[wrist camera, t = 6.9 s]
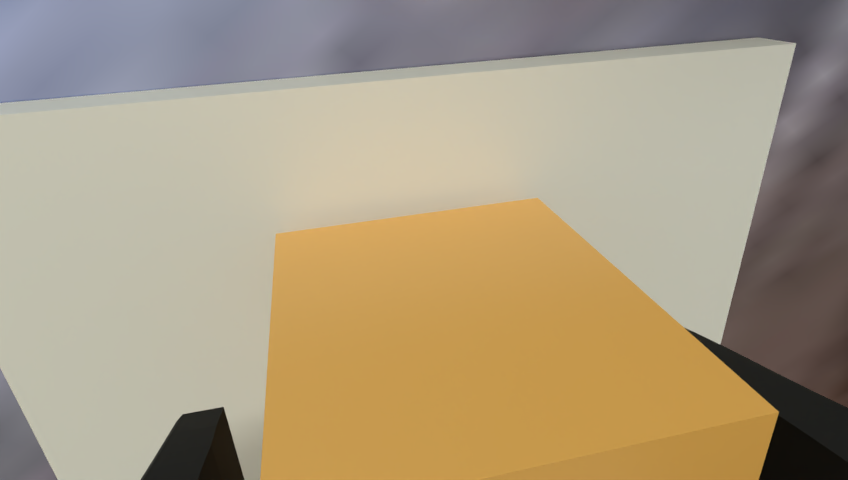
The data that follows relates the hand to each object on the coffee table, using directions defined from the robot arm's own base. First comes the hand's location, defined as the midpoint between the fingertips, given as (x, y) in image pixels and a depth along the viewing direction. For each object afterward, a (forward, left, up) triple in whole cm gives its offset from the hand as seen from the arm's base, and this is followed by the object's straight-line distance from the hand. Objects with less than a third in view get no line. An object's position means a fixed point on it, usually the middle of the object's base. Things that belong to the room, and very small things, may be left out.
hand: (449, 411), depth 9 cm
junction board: (0, +4, -4) cm, 6 cm away
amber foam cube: (0, 0, -2) cm, 2 cm away
